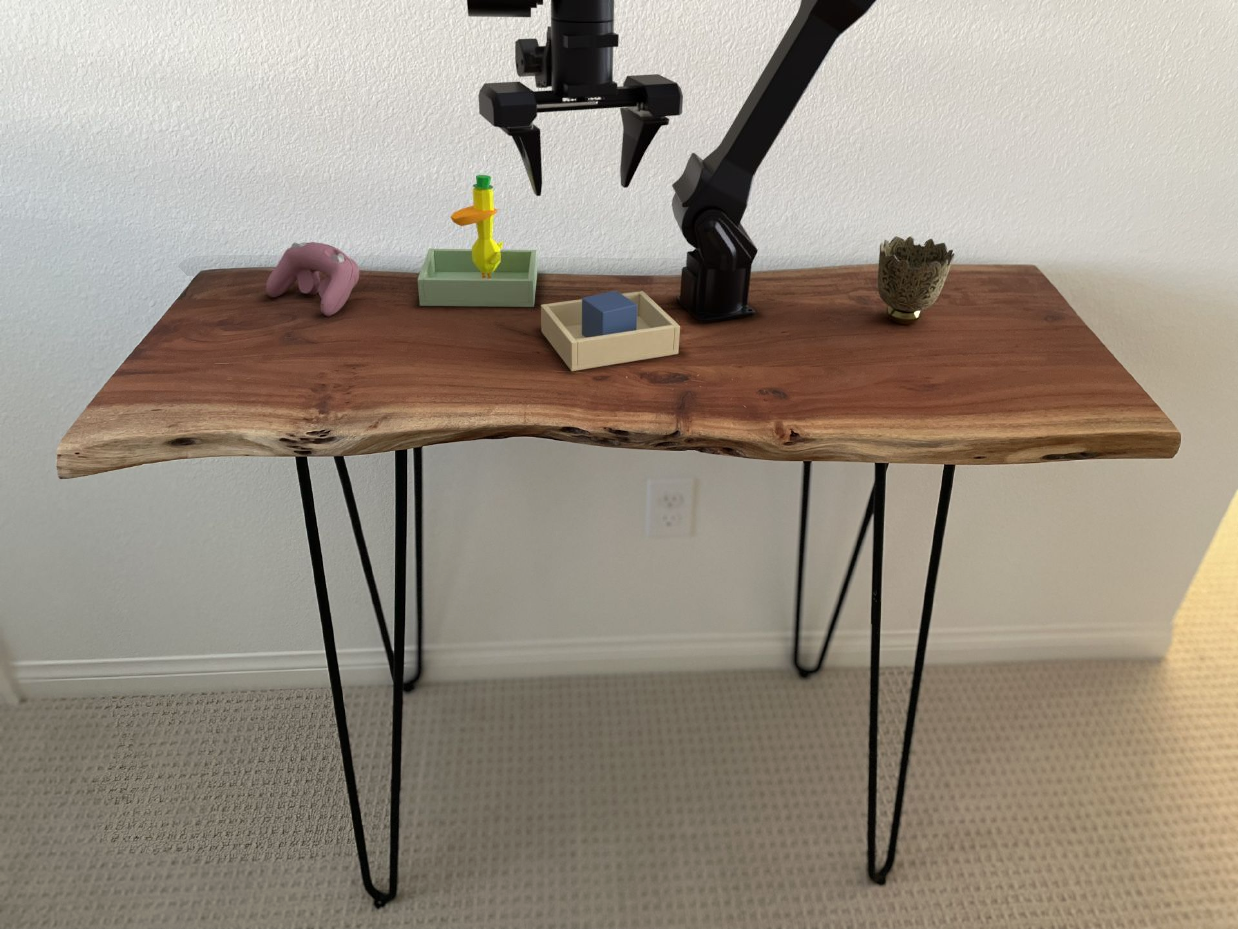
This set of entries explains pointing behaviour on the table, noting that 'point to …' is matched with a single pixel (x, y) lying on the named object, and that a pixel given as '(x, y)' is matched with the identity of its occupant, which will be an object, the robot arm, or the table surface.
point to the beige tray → (609, 335)
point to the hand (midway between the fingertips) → (581, 190)
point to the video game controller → (315, 274)
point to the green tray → (477, 279)
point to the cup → (911, 276)
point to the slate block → (608, 314)
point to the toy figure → (482, 226)
